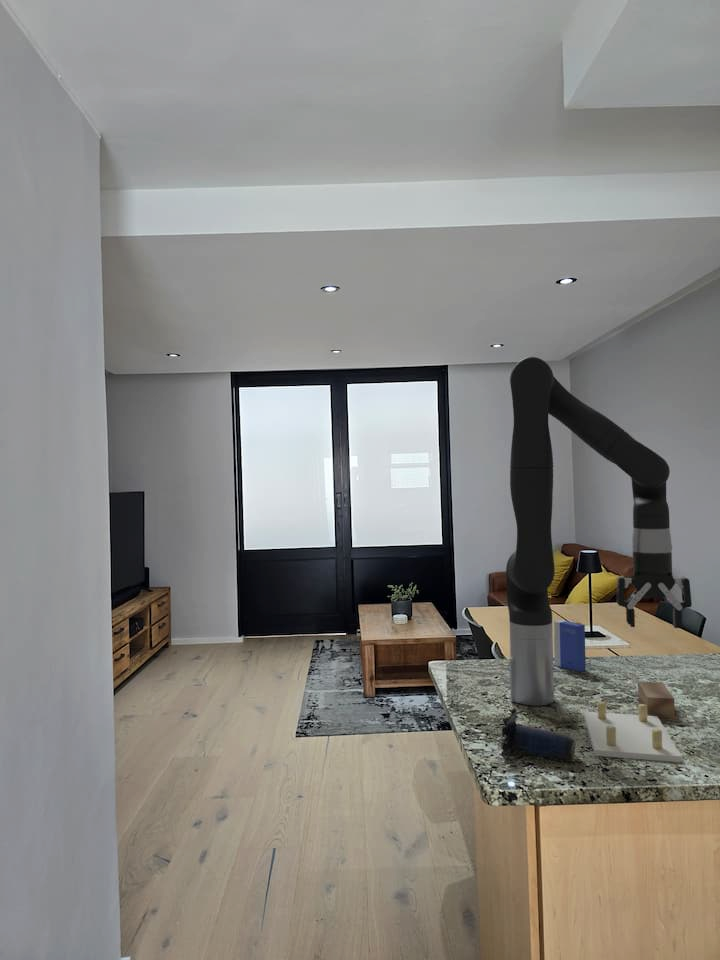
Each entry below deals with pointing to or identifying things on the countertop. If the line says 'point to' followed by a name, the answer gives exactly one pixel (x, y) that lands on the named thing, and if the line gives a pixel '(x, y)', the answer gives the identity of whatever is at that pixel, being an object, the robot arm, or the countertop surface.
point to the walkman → (569, 645)
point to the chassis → (629, 735)
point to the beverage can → (536, 741)
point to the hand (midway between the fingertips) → (653, 627)
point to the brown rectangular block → (656, 699)
